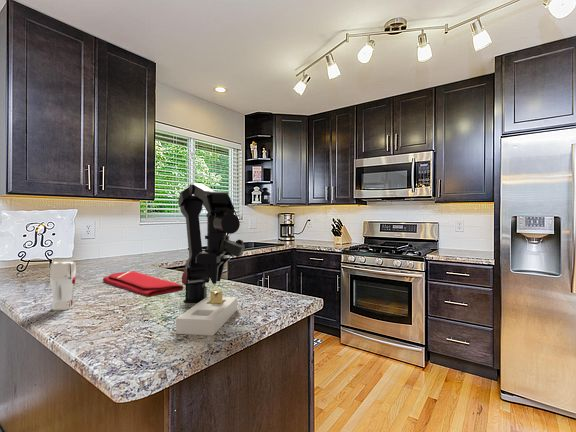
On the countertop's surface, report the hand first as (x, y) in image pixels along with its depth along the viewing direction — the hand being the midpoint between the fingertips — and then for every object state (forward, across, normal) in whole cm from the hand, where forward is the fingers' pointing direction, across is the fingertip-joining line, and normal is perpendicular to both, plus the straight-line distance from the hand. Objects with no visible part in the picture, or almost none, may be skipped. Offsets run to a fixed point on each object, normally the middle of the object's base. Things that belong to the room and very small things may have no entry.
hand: (216, 282), depth 98 cm
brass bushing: (+10, 0, 0) cm, 10 cm away
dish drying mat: (+11, +34, +46) cm, 58 cm away
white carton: (+10, 0, +52) cm, 53 cm away
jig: (+10, -6, 0) cm, 11 cm away
